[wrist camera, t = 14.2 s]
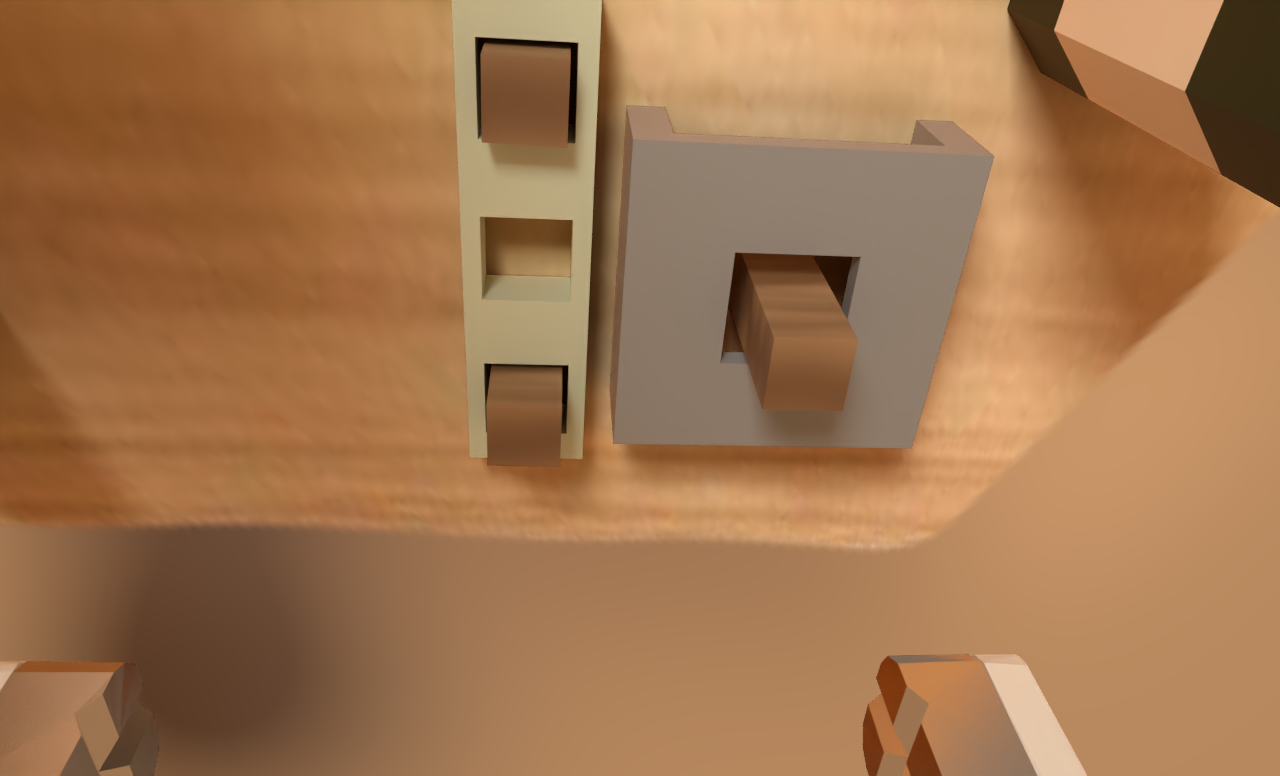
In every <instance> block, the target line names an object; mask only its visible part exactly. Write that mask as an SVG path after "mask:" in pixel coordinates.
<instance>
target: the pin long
mask: <svg viewBox="0 0 1280 776" xmlns="http://www.w3.org/2000/svg"><path fill="white" fill-rule="evenodd" d="M728 304H729V307H730V310H731V313H732V316H733V320H734V323H735V326H736V329H737V332H738V335H739V338H740V341H741V344H742V348H743V351H744V354H745V357H746V360H747V363H748V366H749V369H750V372H751V376H752V379H753V382H754V385H755V388H756V391H757V394H758V397H759V400H760V404H761V407H762V410H804V411H843V408H844V403H845V399H846V394H847V390H848V385H849V381H850V376H851V372H852V367H853V363H854V358H855V354H856V349H857V345H858V338H857V336H856V335H855V333H854V331H853V329H852V327H851V325H850V323H849V322H848V320H847V318H846V316H845V314H844V312H843V311H842V309H841V307H840V305H839V303H838V301H837V299H836V298H835V296H834V294H833V292H832V290H831V288H830V287H829V285H828V283H827V281H826V279H825V277H824V275H823V274H822V272H821V270H820V268H819V266H818V264H817V263H816V261H815V259H814V257H813V255H793V254H765V253H736V252H735V258H734V265H733V273H732V280H731V287H730V295H729V302H728Z"/></svg>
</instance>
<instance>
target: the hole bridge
mask: <svg viewBox="0 0 1280 776" xmlns="http://www.w3.org/2000/svg"><path fill="white" fill-rule="evenodd" d="M993 159H994V155H992V154H991V153H990V152H989V151H988V150H986V149H985V148H984V147H983V146H982V145H980V144H979V143H978V142H977V141H976V140H974V139H973V138H972V137H971V136H970V135H968V134H967V133H966V132H965V131H963V130H962V129H961V128H960V127H959V126H957V125H956V124H955V123H954V122H947V121H927V120H917V121H916V125H915V130H914V134H913V138H912V143H911V144H893V143H872V142H851V141H830V140H808V139H787V138H766V137H745V136H724V135H703V134H682V133H673V131H672V128H671V124H670V121H669V118H668V115H667V112H666V109H665V107H648V106H628V105H627V106H626V123H625V139H624V156H623V173H622V190H621V206H620V223H619V240H618V257H617V274H616V290H615V307H614V324H613V341H612V357H611V374H610V403H611V417H612V430H613V444H655V445H722V446H788V447H855V448H912V446H913V442H914V439H915V435H916V431H917V428H918V424H919V421H920V417H921V414H922V410H923V407H924V403H925V400H926V396H927V393H928V389H929V386H930V382H931V378H932V375H933V371H934V368H935V364H936V361H937V357H938V354H939V350H940V347H941V343H942V340H943V336H944V333H945V329H946V325H947V322H948V318H949V315H950V311H951V308H952V304H953V301H954V297H955V294H956V290H957V287H958V283H959V280H960V276H961V272H962V269H963V265H964V262H965V258H966V255H967V251H968V248H969V244H970V241H971V237H972V234H973V230H974V227H975V223H976V219H977V216H978V212H979V209H980V205H981V202H982V198H983V195H984V191H985V188H986V184H987V181H988V177H989V174H990V170H991V166H992V163H993ZM735 252H736V253H765V254H793V255H822V256H850V257H852V261H851V266H850V271H849V275H848V280H847V285H846V290H845V294H844V299H843V304H842V311H843V312H844V314H845V316H846V318H847V320H848V322H849V323H850V325H851V327H852V329H853V331H854V333H855V335H856V336H857V338H858V345H857V349H856V354H855V358H854V363H853V367H852V372H851V376H850V381H849V385H848V390H847V394H846V399H845V403H844V408H843V411H804V410H762V407H761V404H760V400H759V397H758V394H757V391H756V388H755V385H754V382H753V379H752V376H751V372H750V369H749V366H748V363H747V360H746V357H745V354H744V352H722V347H723V339H724V332H725V325H726V317H727V310H728V302H729V295H730V287H731V280H732V273H733V265H734V258H735Z"/></svg>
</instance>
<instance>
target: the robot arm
mask: <svg viewBox="0 0 1280 776" xmlns="http://www.w3.org/2000/svg"><path fill="white" fill-rule="evenodd" d="M876 678H877V681H878V684H879V687H880V690H881V693H882V694H880V695H879V696H878V697H876V698H875V699H874V700H873V701H871V702H870V703H869V704H868V707H867V710H866V714H865V718H864V722H863V751H864V756H865V762H866V768H867V771H868V774H869V776H1087V774H1086V772H1085V770H1084V769H1083V767H1082V765H1081V763H1080V761H1079V759H1078V757H1077V756H1076V754H1075V752H1074V750H1073V748H1072V747H1071V745H1070V743H1069V741H1068V739H1067V737H1066V736H1065V734H1064V732H1063V730H1062V728H1061V726H1060V725H1059V723H1058V721H1057V719H1056V717H1055V715H1054V714H1053V712H1052V710H1051V708H1050V706H1049V704H1048V703H1047V701H1046V699H1045V697H1044V695H1043V694H1042V692H1041V690H1040V688H1039V686H1038V684H1037V683H1036V681H1035V679H1034V677H1033V675H1032V673H1031V672H1030V670H1029V668H1028V666H1027V664H1026V662H1025V661H1024V660H1022V659H1021V658H1020V657H1019V656H1018V655H1016V654H1015V655H969V654H953V655H904V656H903V655H902V656H887V657H886V658H885V659H884V660H883V662H882V663H881V665H880V668H879V671H878V674H877V677H876ZM143 685H144V684H143V681H142V679H141V676H140V674H139V671H138V669H137V666H136V664H134V663H118V662H62V661H61V662H60V661H0V776H154V772H155V767H156V762H157V757H158V752H159V737H158V726H157V723H156V720H155V717H154V714H153V712H152V711H150V710H149V709H147V708H146V707H145V706H143V705H142V704H140V703H139V702H138V701H136V700H137V698H138V696H139V694H140V692H141V689H142V688H143Z"/></svg>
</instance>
